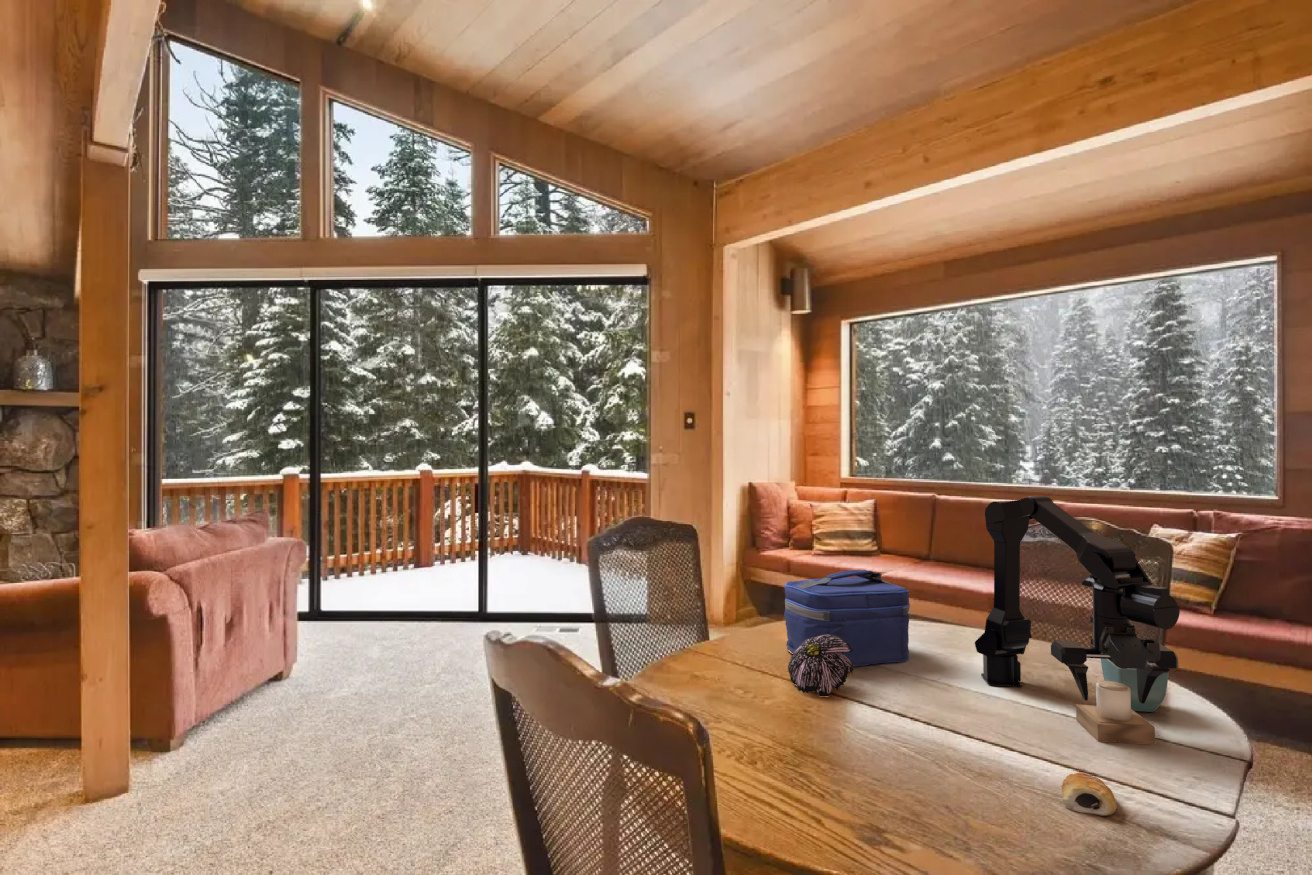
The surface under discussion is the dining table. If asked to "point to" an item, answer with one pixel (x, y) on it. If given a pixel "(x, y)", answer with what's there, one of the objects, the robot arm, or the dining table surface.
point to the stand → (1115, 727)
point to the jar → (1113, 700)
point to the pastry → (1088, 795)
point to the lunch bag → (851, 615)
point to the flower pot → (1130, 680)
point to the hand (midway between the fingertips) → (1113, 701)
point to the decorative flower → (820, 664)
